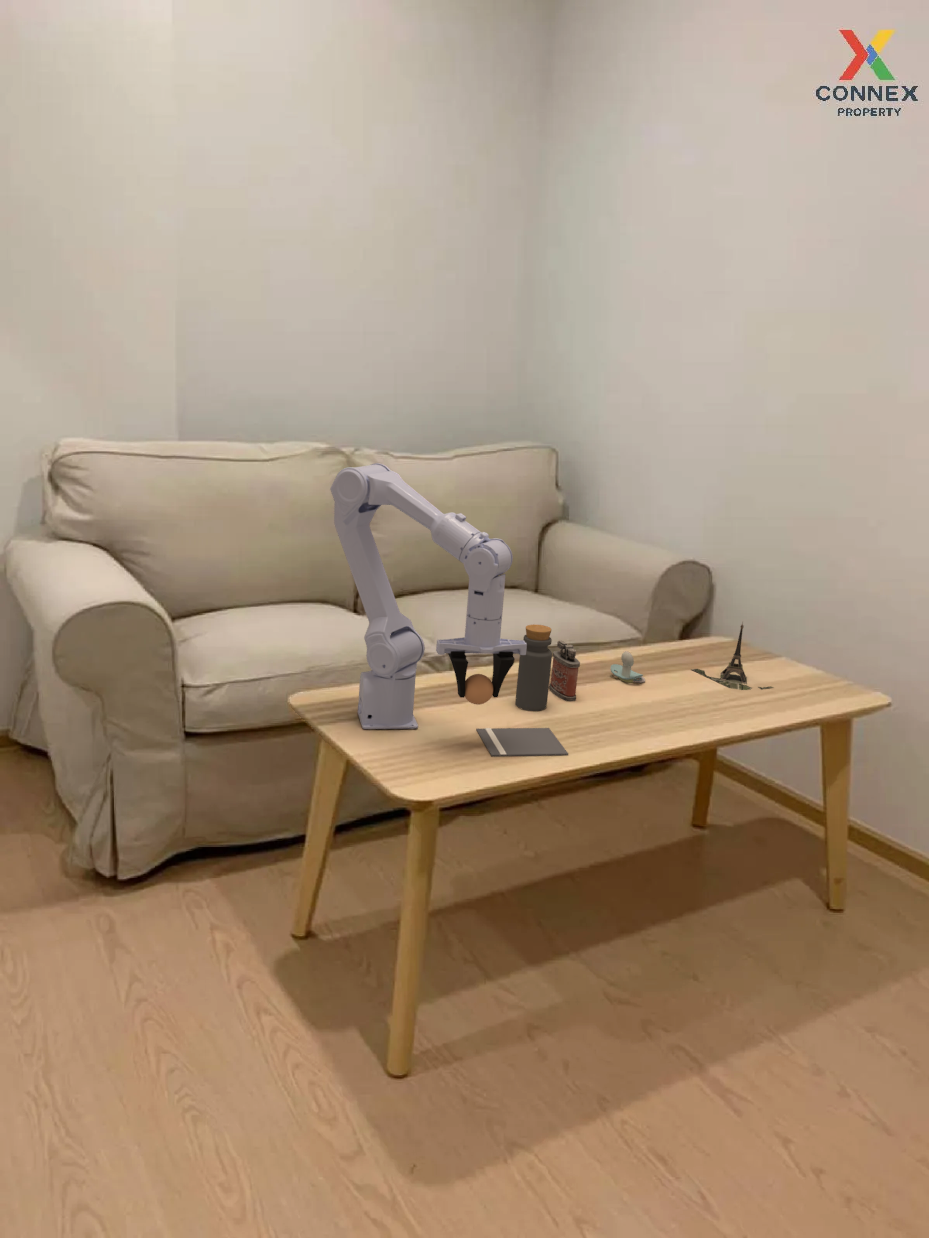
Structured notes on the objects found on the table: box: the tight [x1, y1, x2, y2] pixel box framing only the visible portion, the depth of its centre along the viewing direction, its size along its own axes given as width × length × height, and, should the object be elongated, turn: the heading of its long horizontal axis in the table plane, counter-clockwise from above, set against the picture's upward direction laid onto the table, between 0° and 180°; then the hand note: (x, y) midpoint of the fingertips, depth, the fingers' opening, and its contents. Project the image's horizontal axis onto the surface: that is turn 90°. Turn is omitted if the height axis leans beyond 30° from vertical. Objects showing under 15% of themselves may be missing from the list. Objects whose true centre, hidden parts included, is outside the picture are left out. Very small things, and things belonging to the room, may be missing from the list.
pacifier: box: [610, 650, 646, 684], centre depth 206 cm, size 7×6×6 cm
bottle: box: [514, 623, 553, 712], centre depth 186 cm, size 6×6×15 cm
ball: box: [464, 673, 493, 706], centre depth 166 cm, size 5×5×5 cm
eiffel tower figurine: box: [690, 622, 774, 691], centre depth 211 cm, size 15×10×13 cm
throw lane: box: [475, 727, 569, 757], centre depth 171 cm, size 13×11×1 cm
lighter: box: [548, 639, 581, 702], centre depth 194 cm, size 8×3×10 cm, turn 22°
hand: (477, 695), depth 166 cm, fingers closed on ball, 5 cm apart
